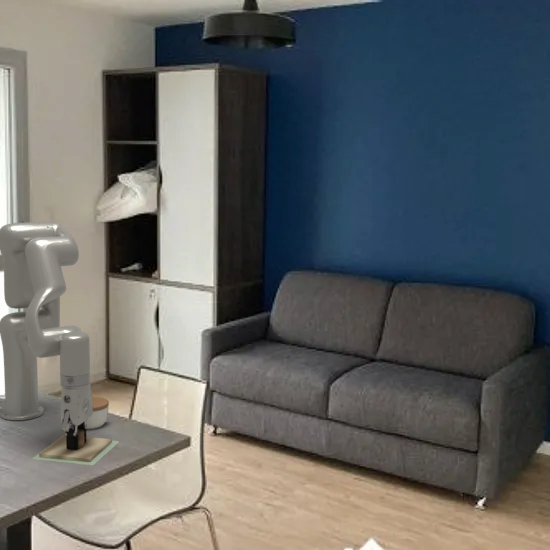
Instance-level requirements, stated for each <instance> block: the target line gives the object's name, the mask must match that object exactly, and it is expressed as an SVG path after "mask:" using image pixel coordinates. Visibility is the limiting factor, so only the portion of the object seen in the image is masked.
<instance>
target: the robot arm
mask: <svg viewBox="0 0 550 550" xmlns="http://www.w3.org/2000/svg"><path fill="white" fill-rule="evenodd" d="M0 254H1V257H2V261H3V283H4V284H3V294H4V301H5V302H4V303H5V304H6V306H7V307H8V308H11V309H14V310H15V309H26V310H24V311H15V312H10V313H8V314H5V315H4V316H2V318H1V319H0V339H1V346H2V354H3V371H4V398H1V397H0V408H1V410H0V417H1V418H2V419H4V420H8V421H28V420H31V419H35V418H38V417H40V416H42V415H43V414H44V412H45V410H44V407H43V406H42V405H40V404H39V385H38V383H39V382H38V358H40V359H41V358H42V359H43V358H51V357H57V356H59V366H60V367H59V369H60V370H59V372H60V373H59V374H60V378H59V379H60V387H61V395H60V422H61V425H62V426H61V430H62V431H63V432H64V435H66V448H67V449H71V450H78V449H79V441H78V435H77V429H81V430H84V443H86V442H87V440H86V437H87V429H85V428H86V427H87V419H88V418H89V417H91V415H92V414H93V404H92V397H93V392H92V385H91V364H90V363H91V362H90V361H91V358H90V354H91V353H90V352H91V351H90V345H91V344H90V336H89V335H88V333H86V332H83V331H82V330H81V328H80V327H79V326H76V325H65V326H61V325H60V324H61V323H60V322H61V321H60V320H61V319H60V318H61V317H60V315H61V306H60V305H61V296H62V295H64V294H65V292H66V290H67V285H66V281H65V278H64V277H65V276H64V274H63V270H62V267H67V266H69V267H71V266H74V265H76V263H78V260H79V257H80V255H79V254H80V253H79V248H78V245H77V242H76V240H75V239H74V237H73V236H72V235H71V234H70V233H69V231H67V230H66V229H65V227H63V226H62V225H61V224H59V223H58V222H55V221H35V222H34V221H32V222H31V221H29V222H13V223H7V224H5V225H2V226H1V227H0Z"/></svg>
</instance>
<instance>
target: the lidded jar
mask: <svg viewBox="0 0 550 550" xmlns="http://www.w3.org/2000/svg"><path fill="white" fill-rule="evenodd" d="M109 403H110V401H109V400H108V399H107V398H105V397H101V396H92V404H93V414H92V415H91V417H89V418H88V419H87V427H86V428H85V429H86V430H92V429H93V430H94V429H98V428H101V427H103V426H104V424H105V423H106V421H107V419H108V417H109Z"/></svg>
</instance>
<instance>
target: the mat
mask: <svg viewBox="0 0 550 550" xmlns="http://www.w3.org/2000/svg"><path fill="white" fill-rule="evenodd" d="M61 437H62V436H60V437H59V438H61ZM57 440H58V439H56V440H55V441H57ZM53 443H54V442H52V443H51V444H53ZM119 443H120V441H118V440H112V443H110V444H109V445H108V446H107V447H106V448H105V449H104V450H103V451H102V452H100V453H99V454H98V455H97V456H96V457H95V458H94V459H93V460H92V461H90V462H86V461H76V460H66V459H57V458H47V457H39V454H40V453H41V452H42V451H44V450H45V449H46V448H47V447H49V446H50V445H48V446H47V447H45V448H44V449H42V450H41V451H40V452H38V453H37V454H36V455H35V456H34V457H32V458H31V460H34V461H35V460H37V461H47V462H54V463H55V462H56V463H66V464H74V465H75V464H76V465H84V466H85V465H86V466H95V465H96V463H98V462H99V461H100V460H101V459H102V458H103V457H104V456H105V455H107V453H109V452H110V451H111V450H112V449H113V448H114V447H115V446H117V445H118V444H119Z"/></svg>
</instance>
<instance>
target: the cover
mask: <svg viewBox="0 0 550 550" xmlns="http://www.w3.org/2000/svg"><path fill="white" fill-rule="evenodd" d="M77 435H78V441H79V449H78V450H71V449H67V448H66V435H65V434H63V435H61V436H60V437H61V438H60V437H59V438H58V439H56V440H57V441H56V440H55V441H53V442H52V443H53V444H52V443H50V444H49V445H48V446H49V447H48V446H47V447H45V448H46V449H45V448H44V449H45V450H44V449H43V450H44V451H43V450H41V451H42V452H41V451H40V452H41V453H40V452H39V453H40V454H39V453H38V454H39V457H47V458H57V459H66V460H76V461H86V462H90V461H92V460H93V459H94V458H95V457H96V456H97V455H98V454H99V453H100V452H102V451H103V450H104V449H105V448H106V447H107V446H108V445H109V444H110V443H112V441H113V439H112V438H101V437H94V436H93V437H92V436H86V440H87V442H86V443H84V430H81V429H77Z"/></svg>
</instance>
